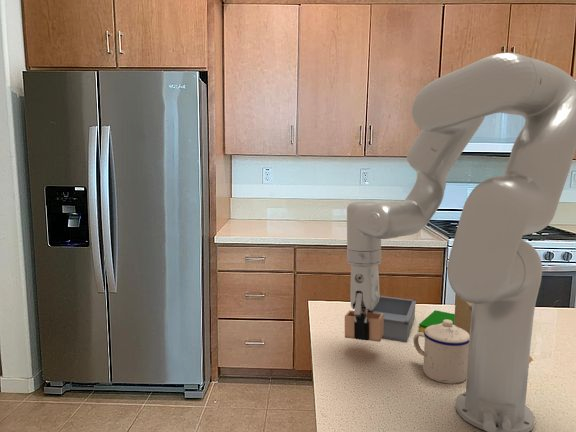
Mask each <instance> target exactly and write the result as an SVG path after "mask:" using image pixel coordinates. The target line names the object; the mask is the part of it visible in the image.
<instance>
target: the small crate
mask: <svg viewBox="0 0 576 432" xmlns="http://www.w3.org/2000/svg"><path fill="white" fill-rule="evenodd" d="M354 311H355V310H349V311H347V313H346V314H345V315H344V338H345V339H354V340H356V339H355V337H354V322H355V321H354V319H355V315H354ZM362 313H364V316H365V312H362ZM368 322H369V340H368V341H370V342H379V343H380V342H381V341H382V339H383V338H382V337H383V335H384V314H381V313H371V312H368Z"/></svg>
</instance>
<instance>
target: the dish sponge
mask: <svg viewBox="0 0 576 432" xmlns="http://www.w3.org/2000/svg"><path fill="white" fill-rule="evenodd" d="M454 317H455V313H451V312H446V311H441V310H436V309H435V310H434V311H433V312H431V313H430V314H429V315H428V316H427V317H426V318H425V319H423V320H422V321H420V323H419V324H418V333H420V332H423V333H424V331H425V329H426V328H427V327H428V326H431V325H437V324H440V323H443V320H445V319H448V320H451V321H452V322H453V325H454Z"/></svg>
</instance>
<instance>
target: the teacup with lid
mask: <svg viewBox="0 0 576 432" xmlns="http://www.w3.org/2000/svg"><path fill="white" fill-rule="evenodd" d="M419 337H422V338H424V347H423V348H424V349H422V348H421V346H420V344H419ZM469 337H470V335H469V334H468V332H466V331H465V330H463V329H461V328H459V327H457V326H455V325H453V322H452V321H451V320H448V319H445V320H443V323H440V324H437V325H431V326H428V327H427V328H426V329H425V331H424V333H423V332H418V333H416V334H415V335H414V337H413V347H414V349H415V351H416V352H417V353H418V354H419V355H421V356H423V366H422V369H423V370H422V371H423V372H424V374H425V376H426V377H428V378H429V379H431V380H433V381H435V382H439V383H443V384H451V385H453V384H461V383H463V382H465V381H466V380H467V366H468V351H469Z"/></svg>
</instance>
